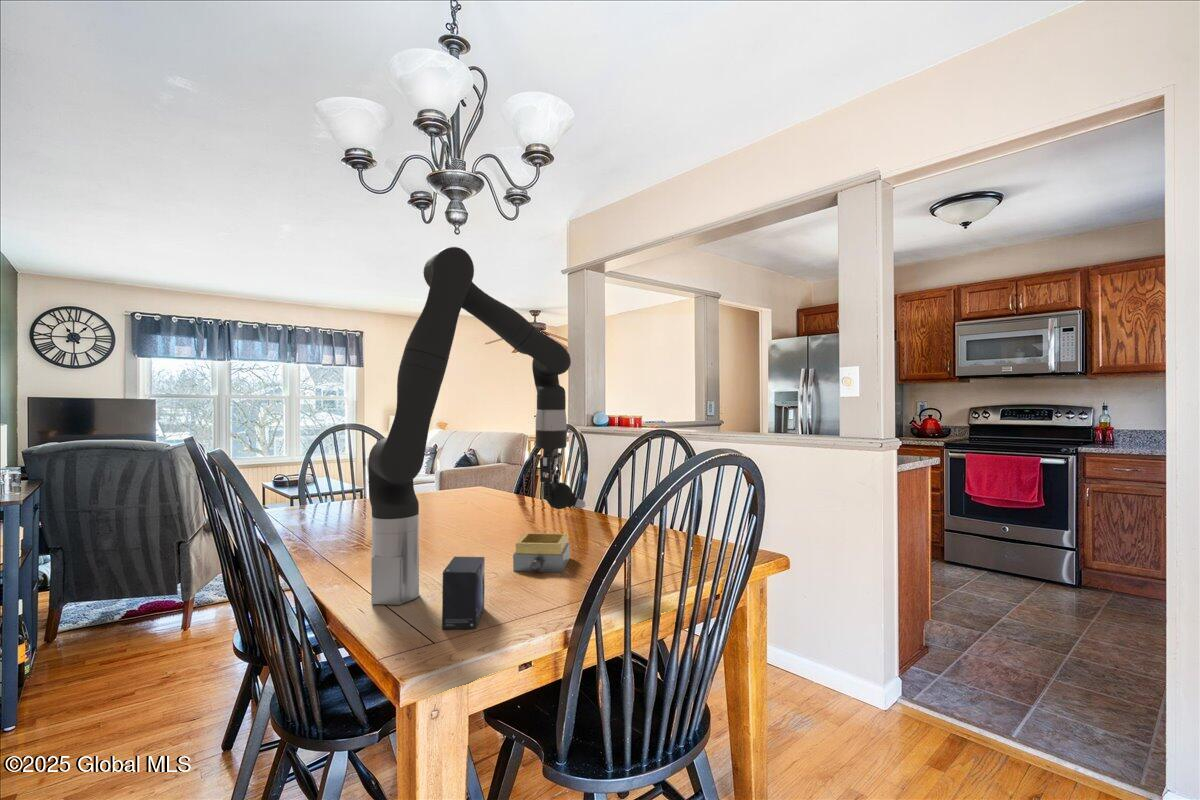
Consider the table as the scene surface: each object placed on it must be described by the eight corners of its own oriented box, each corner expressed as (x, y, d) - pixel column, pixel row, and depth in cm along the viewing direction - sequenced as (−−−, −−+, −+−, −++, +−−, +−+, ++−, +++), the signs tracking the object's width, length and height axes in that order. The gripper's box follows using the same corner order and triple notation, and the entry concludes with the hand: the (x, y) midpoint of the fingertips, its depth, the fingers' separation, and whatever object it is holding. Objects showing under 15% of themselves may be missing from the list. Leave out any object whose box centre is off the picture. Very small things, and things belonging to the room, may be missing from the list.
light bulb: (591, 492, 137) (552, 477, 137) (581, 518, 135) (541, 503, 135) (589, 494, 143) (551, 479, 143) (580, 518, 142) (542, 503, 142)
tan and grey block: (560, 576, 134) (560, 548, 134) (510, 574, 135) (510, 547, 135) (569, 558, 148) (569, 533, 148) (524, 557, 150) (524, 532, 150)
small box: (477, 629, 103) (477, 571, 103) (440, 630, 102) (440, 572, 102) (486, 608, 113) (485, 555, 113) (452, 609, 113) (452, 555, 113)
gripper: (560, 430, 132) (560, 503, 132) (571, 427, 146) (571, 493, 146) (528, 429, 133) (528, 502, 133) (542, 427, 147) (542, 492, 147)
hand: (550, 497), depth 140 cm, fingers closed on light bulb, 6 cm apart
